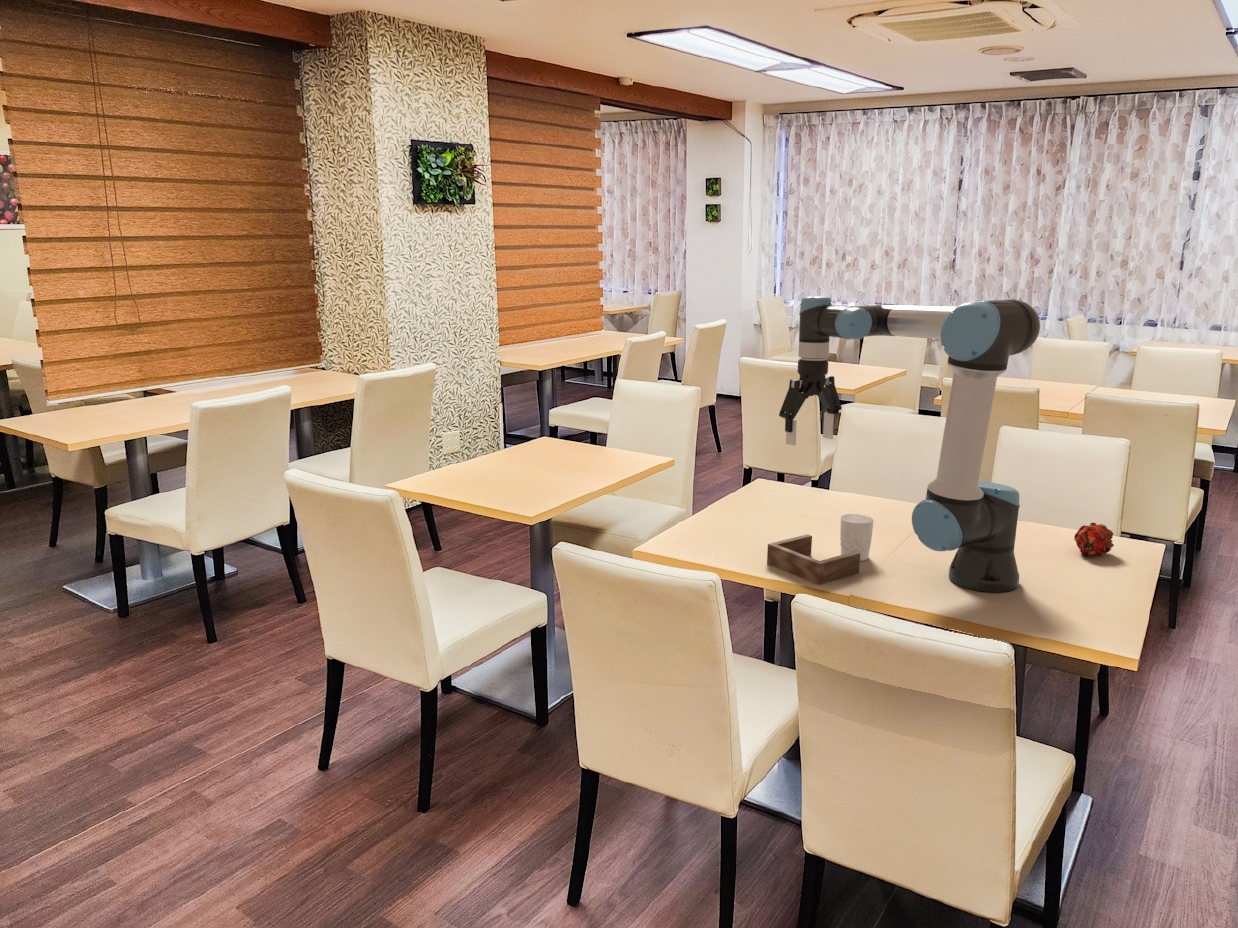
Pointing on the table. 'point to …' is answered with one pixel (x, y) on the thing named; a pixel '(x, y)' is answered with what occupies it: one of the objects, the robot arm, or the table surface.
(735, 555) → the table surface
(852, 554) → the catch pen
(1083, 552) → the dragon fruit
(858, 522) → the white cup
